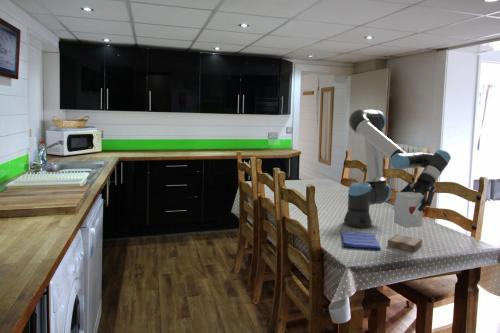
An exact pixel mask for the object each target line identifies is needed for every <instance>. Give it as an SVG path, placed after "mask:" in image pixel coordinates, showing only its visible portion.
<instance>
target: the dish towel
mask: <svg viewBox="0 0 500 333" xmlns="http://www.w3.org/2000/svg"><path fill="white" fill-rule="evenodd" d="M340 232H341V241H342V247H343V248H345V249H355V250H367V251H381V249H382V247H381V246H380V244H379V242H378V239H377V237H376V235H375V233H374V232H354V231H353V232H352V231H348V230H342V229H341V230H340Z"/></svg>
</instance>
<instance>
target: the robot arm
mask: <svg viewBox="0 0 500 333" xmlns="http://www.w3.org/2000/svg"><path fill="white" fill-rule="evenodd" d="M348 123H349V126H350V128H351V129H352V131H353V132H354V133H356V134H357V135H359V136H362V137H363V138H364V148H365V151H364V152H365V162H366V164H365V165H366V175H367V176H366V177H367V178H366V179H365V181H360V182H359V181H356V182H352V183H350V184H349V186H348V191H347V193H348V194H347V195H348V197H347V211H346V212H345V216H344V218H343V224H344V225H345V226H348V227H349V228H355V229H368V228H371V227H372V223H373V222H372V221H373V220H372V217H371V213H370V206H372V205H377V204H378V205H381V204H383V203H386V202H388V201H389V200H390V198H391V196H392V188H391V186H390V185H389V183H387V179H385V177H384V171H383V161H382V160H383V159H382V158H383V157H382V154H384V156H385V157H387V159H389V160H390V164H391V166H392V167H393V168H395V170H405V169H406V170H407V169H417V168H421V169H422V168H423V170H422V171H421V173H420V174H419V176H418V177H417V179H416V181H415V182H414V183H412V182H411V181H409V182H408V183H407V185H406V186H405V187H404V188H403V189H402V190H400V191H399V192H414V193H417V194H421V195H424V198H423V199H422V202H421V203H422V204H421V203H419V204H418V206H417V207H416V209H415V210H414V212H413V213H412V214H413V216H414V217H415V218H416V217H417V216H418V214H419V213H420V211H422V210H423V211H424V209H425V207H431V205H432V202H433V199H434V196H435V193H436V192H437V189H436V188H435V184H436V182H437V180H438V179H439V178H440V176H441V174H442V172H443V171H444V170H445V169H446V167H447V166H448V164H449V162H450V161H451V159H452V157H451V155H450V153H449V152H448V151H446V150H443V149H438V150H436V151H435V152H434V153H427V152H420V151H411V152H407V151H405V150H404V149H403V148H401V147H400V146H398V145H397V144H396V143H394V141H392V140H391V139H390V138H388V137H387V136H386V135H385V134H384V133H383V129H384V128H385V126H386V124H387V118H386V115H385V114H384V112H382V111H381V110H378V109H356V110H355V111H353V112H352V113H350V115H349V119H348ZM427 192H428V194H427ZM392 210H393V212H395V205H394V206H393V207H392Z"/></svg>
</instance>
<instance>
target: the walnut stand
mask: <svg viewBox="0 0 500 333" xmlns="http://www.w3.org/2000/svg"><path fill="white" fill-rule="evenodd" d="M422 241H423V239H422V238H418V237H417V238H416V237H412V236H408V235H403V234H398V233H396V234H394V235H393V236H391V237H390V238H389V239H387V247H390V248H395V249H399V250H404V251H407V252H411V253H415V252H416V251H417V250H419V248H420V247H422V244H423V242H422Z"/></svg>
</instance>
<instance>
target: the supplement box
mask: <svg viewBox="0 0 500 333" xmlns="http://www.w3.org/2000/svg"><path fill="white" fill-rule="evenodd" d="M423 198H424V195H422V194H420V193H414V192H400V191H398V192H396V193H395V201H394V203H395V204H394V206H395V211H394V215H393V216H394V218H393V224H396V225H397V226H398V225H399V226H401V227H403V228H405V229H407V228H421V227H422V225H423V213H424V209H423V210H422V211H420V213H419V214H418V216H417V217H416V218H415V217H414V216H413V214H412V213H413V212H414V210H415V209H416V207H417V206H418V204H419V203H421V202H422V199H423ZM421 204H422V203H421Z"/></svg>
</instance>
